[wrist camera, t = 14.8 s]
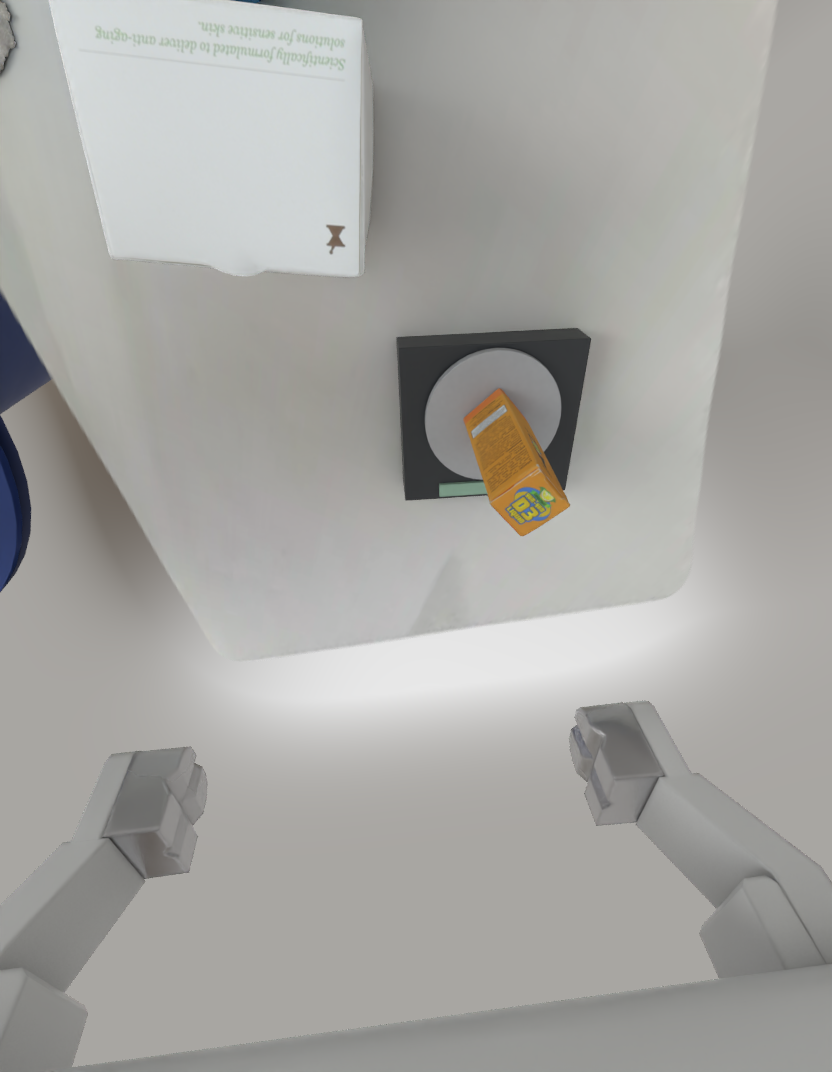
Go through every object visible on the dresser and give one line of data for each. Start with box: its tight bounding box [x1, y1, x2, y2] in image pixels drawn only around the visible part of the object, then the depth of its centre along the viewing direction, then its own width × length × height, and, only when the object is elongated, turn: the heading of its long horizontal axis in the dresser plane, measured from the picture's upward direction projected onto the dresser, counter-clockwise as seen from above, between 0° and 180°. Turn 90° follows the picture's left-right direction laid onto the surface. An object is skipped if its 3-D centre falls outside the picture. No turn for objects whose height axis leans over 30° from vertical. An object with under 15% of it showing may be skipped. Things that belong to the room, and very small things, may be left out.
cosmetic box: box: [49, 0, 374, 278], centre depth 21 cm, size 8×7×16 cm
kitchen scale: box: [397, 328, 591, 500], centre depth 35 cm, size 12×11×3 cm
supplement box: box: [463, 388, 570, 536], centre depth 29 cm, size 3×4×10 cm
